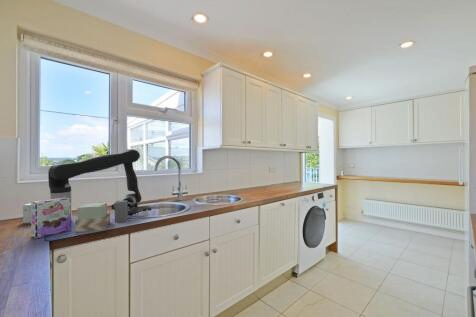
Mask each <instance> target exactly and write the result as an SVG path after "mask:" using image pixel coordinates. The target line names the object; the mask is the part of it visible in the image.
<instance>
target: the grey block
mask: <svg viewBox="0 0 476 317" xmlns="http://www.w3.org/2000/svg"><path fill="white" fill-rule="evenodd" d="M122 200H123V199H122ZM122 200H116V201H115V202H114V203H115V210H114V222H115V223H119V222H126V221H127V220H128V219H129V218H128V215H129V214H128V213H129V212H128V211H129V210H128V200H123V201H122Z"/></svg>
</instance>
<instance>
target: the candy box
mask: <svg viewBox="0 0 476 317" xmlns="http://www.w3.org/2000/svg"><path fill="white" fill-rule="evenodd" d="M30 203H31V223H30V225H31V226H30V229H31V232H30V236H31V237H32V238H34V239H40V238H44V237H49V236H54V235H58V234H62V233H65V232H69V231H72V225H71V224H72V221H71V208H72V202H71V203H70V198H66V197H64V198H57V199H43V200H35V201H31V202H30Z"/></svg>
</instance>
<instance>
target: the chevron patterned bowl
mask: <svg viewBox="0 0 476 317" xmlns="http://www.w3.org/2000/svg"><path fill="white" fill-rule="evenodd" d="M74 223H75V224H74V225H75V232H74V233H77V232H78V233H79V232H93V231H104V230H105V228H107V227H108V226H109V225H110V224H111V212H107V214H106V215H104V216H103V217H101V218H97V219H82V220H78V218H77V219H75V221H74ZM108 224H109V225H108Z"/></svg>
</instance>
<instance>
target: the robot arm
mask: <svg viewBox="0 0 476 317" xmlns="http://www.w3.org/2000/svg"><path fill="white" fill-rule="evenodd" d="M140 158H141V154H140V152H139V151H138V150H136V149H124V150H123V151H122V152H121V153H112V154H110V153H109V154H102V155H97V156H92V157H89V158H87V159H85V160H82V161H77V162H71V163H55V164H53V165H51V166H50V167H49V168H48V173H47V174H48V176H47V178H48V188H49V190H50V191H49V194H50V199H57V198H64V197H66V198H70V203H71V204H72V186H71V184H70V182H69V180H70V179H72V178H75V177H78V176H80V175H83V174H84V175H85V174H90V173H95V172H100V171H103V170H106V169H107V170H108V169H111V168H114V167H117V166H120V165H123V167H124V172H125V177H126V186H127V187H126V188H127V192H128V191H129V192H133V193H128V194H126V196H125V197H124V198H123V199H122V200H121V201H123V200H128V211H129V210H132V209H134V208H138V207H139V203H140V202H141V201H142V195H141V193H140V189H139V184H138V177H137V174H136V172H135V170H134V165H133V164H134V163H137V161H139V160H140ZM111 210H113V211H115V202H114V203H112V204H111ZM72 211H73V210H72V207H71V222H72V221H73V217H72V216H73V215H72Z"/></svg>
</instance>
